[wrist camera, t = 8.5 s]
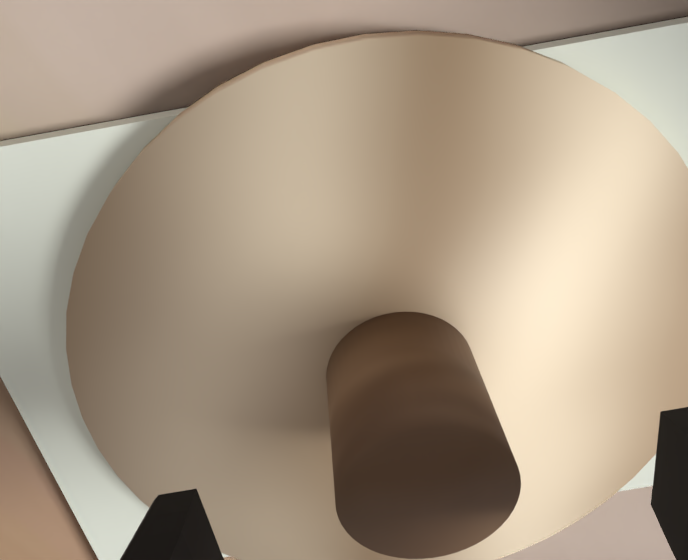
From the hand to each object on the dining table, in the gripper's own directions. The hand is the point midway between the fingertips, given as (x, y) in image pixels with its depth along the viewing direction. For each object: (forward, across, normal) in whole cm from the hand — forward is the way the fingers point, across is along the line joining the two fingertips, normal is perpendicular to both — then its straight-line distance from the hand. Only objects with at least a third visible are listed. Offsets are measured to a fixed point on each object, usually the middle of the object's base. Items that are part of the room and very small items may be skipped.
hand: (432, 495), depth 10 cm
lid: (+4, 0, 0) cm, 4 cm away
